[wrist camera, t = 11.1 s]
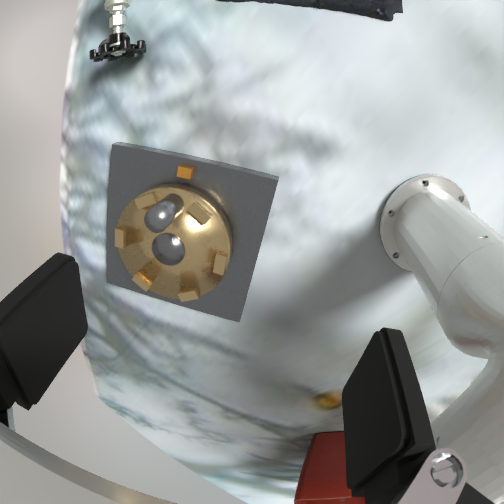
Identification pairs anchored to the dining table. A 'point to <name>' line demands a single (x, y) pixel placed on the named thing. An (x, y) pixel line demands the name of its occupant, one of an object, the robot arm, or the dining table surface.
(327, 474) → the plant pot
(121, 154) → the housing
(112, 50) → the valve
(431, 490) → the robot arm
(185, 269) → the brass crank wheel
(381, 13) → the dark slate chunk
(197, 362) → the dining table surface
